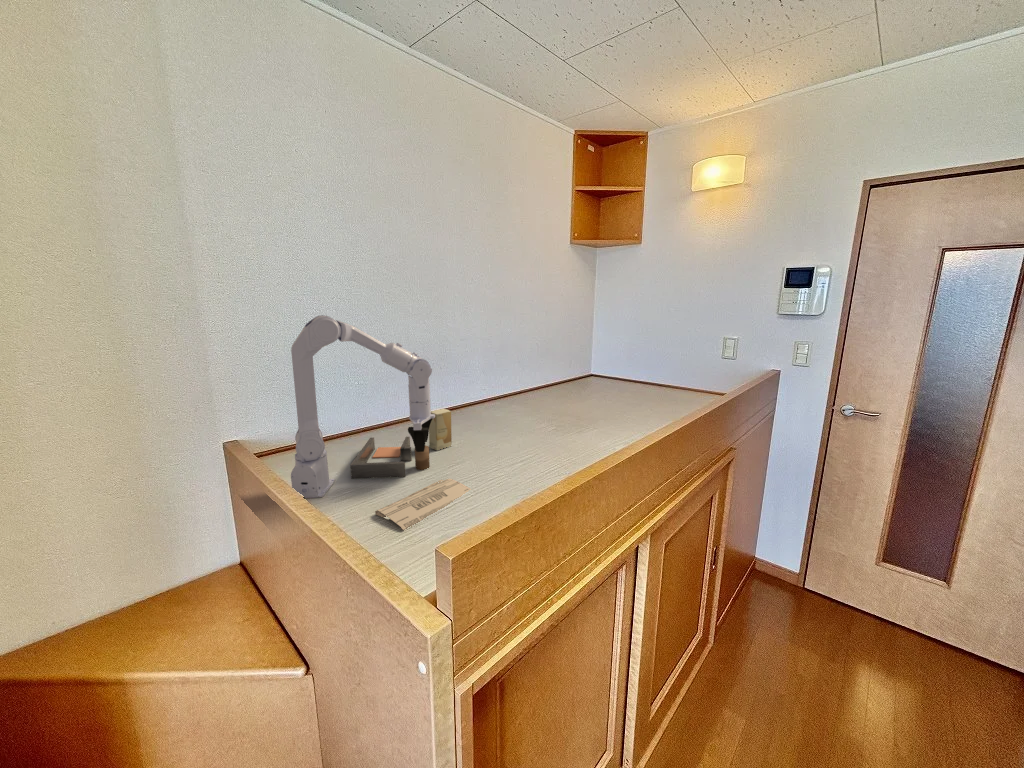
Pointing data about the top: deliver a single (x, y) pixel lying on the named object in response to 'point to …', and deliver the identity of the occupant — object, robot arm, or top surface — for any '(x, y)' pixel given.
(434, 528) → the top surface
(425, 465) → the brown cylinder
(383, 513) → the newspaper
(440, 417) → the skincare box
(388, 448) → the pad
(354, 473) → the rail channel
